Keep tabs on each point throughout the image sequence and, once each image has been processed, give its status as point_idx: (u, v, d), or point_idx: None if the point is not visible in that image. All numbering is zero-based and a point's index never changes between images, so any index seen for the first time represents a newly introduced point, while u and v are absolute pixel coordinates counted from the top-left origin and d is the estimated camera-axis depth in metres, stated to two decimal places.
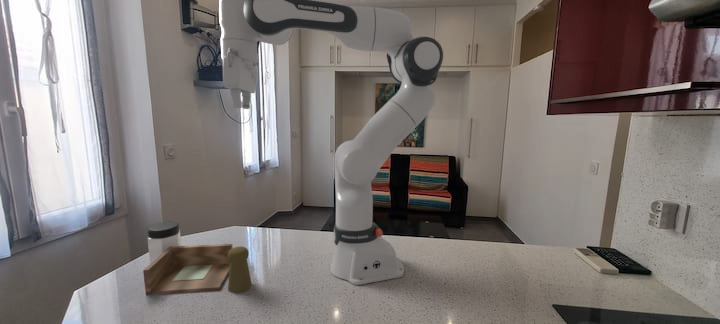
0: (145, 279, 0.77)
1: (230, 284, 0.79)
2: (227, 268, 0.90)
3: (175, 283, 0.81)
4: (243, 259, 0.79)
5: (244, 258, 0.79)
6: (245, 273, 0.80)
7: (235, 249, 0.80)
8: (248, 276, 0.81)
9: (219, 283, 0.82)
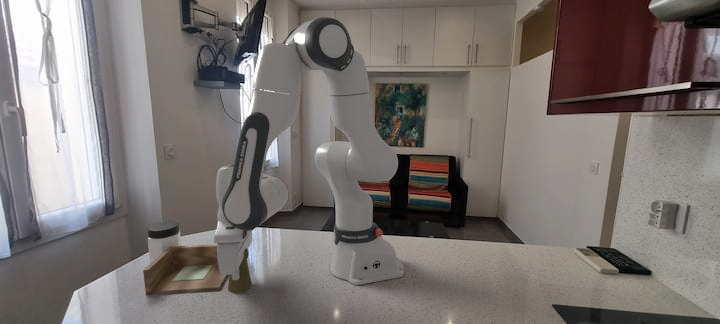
0: (145, 279, 0.77)
1: (230, 284, 0.79)
2: None
3: (175, 283, 0.81)
4: (243, 259, 0.79)
5: (244, 258, 0.79)
6: (245, 273, 0.80)
7: None
8: (248, 276, 0.81)
9: (219, 283, 0.82)
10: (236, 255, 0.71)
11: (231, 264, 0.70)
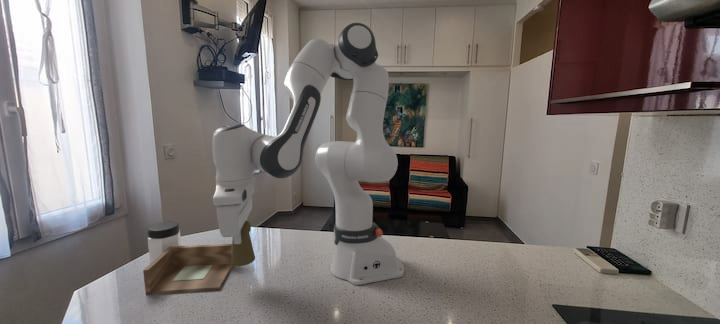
0: (145, 279, 0.77)
1: (233, 257, 0.78)
2: (227, 268, 0.90)
3: (175, 283, 0.81)
4: (246, 232, 0.78)
5: (247, 231, 0.78)
6: (248, 246, 0.79)
7: None
8: (251, 249, 0.80)
9: (219, 283, 0.82)
10: (237, 217, 0.69)
11: (232, 226, 0.69)
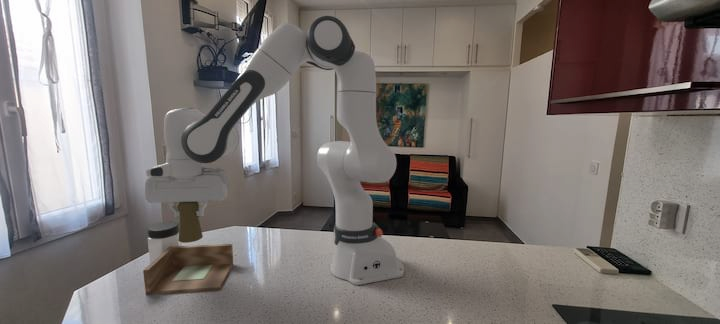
0: (145, 279, 0.77)
1: None
2: (227, 268, 0.90)
3: (175, 283, 0.81)
4: (178, 210, 0.82)
5: (179, 210, 0.81)
6: (181, 226, 0.82)
7: None
8: (183, 231, 0.82)
9: (219, 283, 0.82)
10: (145, 186, 0.79)
11: None
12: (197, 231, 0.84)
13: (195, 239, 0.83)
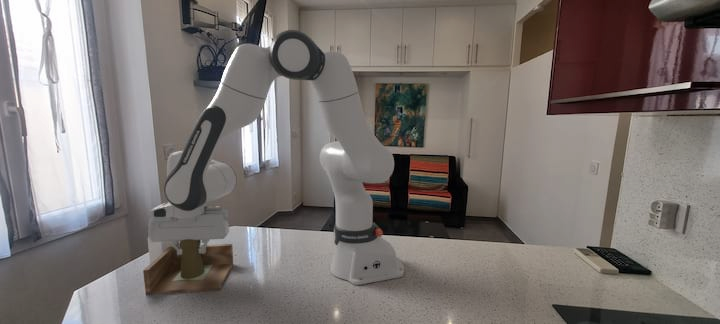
0: (145, 279, 0.77)
1: None
2: (227, 268, 0.90)
3: (175, 283, 0.81)
4: (180, 247, 0.83)
5: (181, 247, 0.83)
6: (183, 262, 0.83)
7: None
8: (186, 267, 0.83)
9: (219, 283, 0.82)
10: (148, 226, 0.81)
11: None
12: (199, 267, 0.85)
13: (197, 275, 0.84)
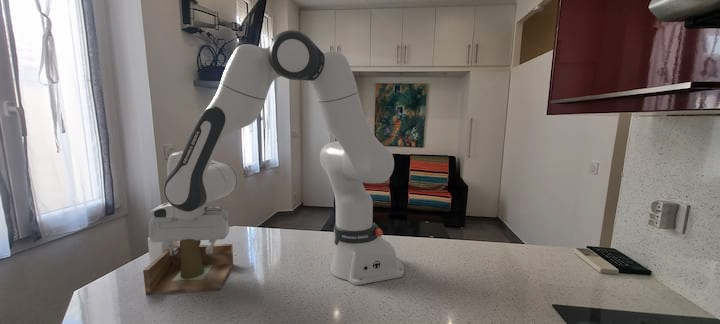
0: (145, 279, 0.77)
1: None
2: (227, 268, 0.90)
3: (175, 283, 0.81)
4: (180, 247, 0.83)
5: (181, 247, 0.83)
6: (183, 262, 0.83)
7: None
8: (185, 267, 0.83)
9: (219, 283, 0.82)
10: (149, 226, 0.81)
11: None
12: (198, 267, 0.85)
13: (197, 275, 0.84)
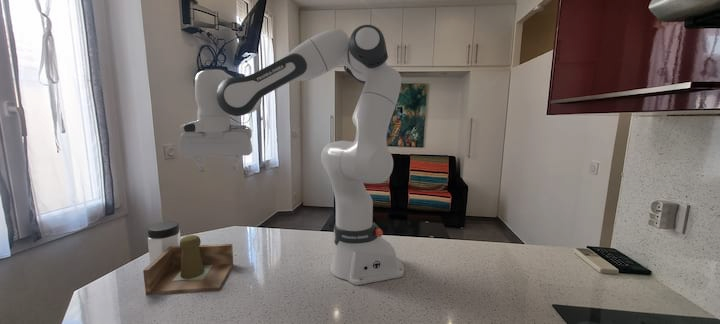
0: (145, 279, 0.77)
1: None
2: (227, 268, 0.90)
3: (175, 283, 0.81)
4: (180, 247, 0.83)
5: (181, 247, 0.83)
6: (183, 262, 0.83)
7: (188, 236, 0.85)
8: (185, 267, 0.83)
9: (219, 283, 0.82)
10: (179, 141, 0.87)
11: None
12: (198, 267, 0.85)
13: (197, 275, 0.84)
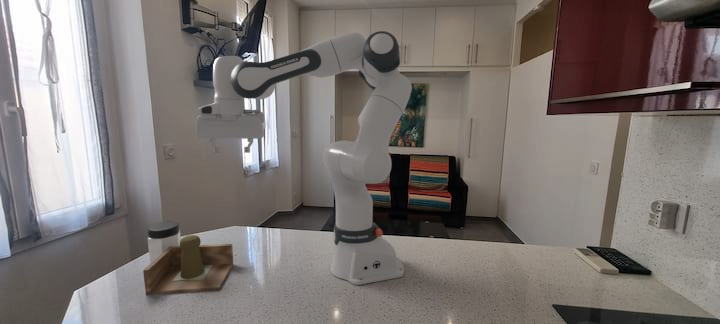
0: (145, 279, 0.77)
1: None
2: (227, 268, 0.90)
3: (175, 283, 0.81)
4: (180, 247, 0.83)
5: (181, 247, 0.83)
6: (183, 262, 0.83)
7: (188, 236, 0.85)
8: (185, 267, 0.83)
9: (219, 283, 0.82)
10: (196, 122, 0.92)
11: None
12: (198, 267, 0.85)
13: (197, 275, 0.84)
